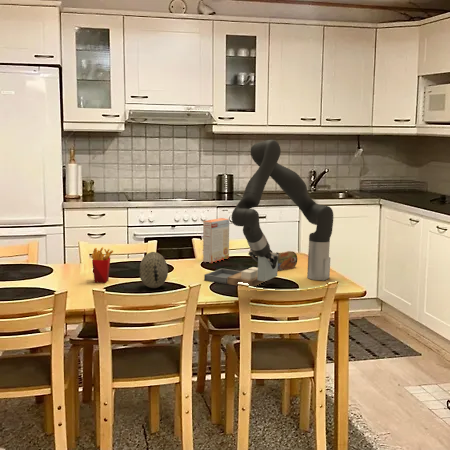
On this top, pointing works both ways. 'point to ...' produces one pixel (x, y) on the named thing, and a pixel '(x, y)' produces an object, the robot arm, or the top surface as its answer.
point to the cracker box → (215, 240)
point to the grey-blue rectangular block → (266, 270)
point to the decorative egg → (153, 270)
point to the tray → (220, 275)
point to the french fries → (101, 265)
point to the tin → (287, 260)
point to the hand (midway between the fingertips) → (269, 266)
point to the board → (242, 280)
